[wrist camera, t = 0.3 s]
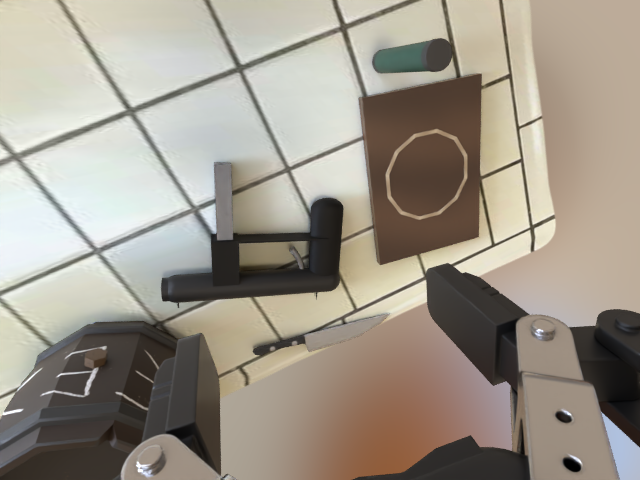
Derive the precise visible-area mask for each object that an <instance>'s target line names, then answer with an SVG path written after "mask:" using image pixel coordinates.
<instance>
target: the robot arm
mask: <svg viewBox="0 0 640 480" xmlns="http://www.w3.org/2000/svg"><path fill="white" fill-rule="evenodd" d="M426 282H427V305H428V309H429V313H430V315H431V317H432V319H433V320H434V321H435V322H436V324H437V325H438V326H439V327H440V328H441V329H442V330H443V331H444V332H445V333H446V335H447V336H448V337H449V338H450V339H451V340H452V341H453V342H454V343H455V344H456V345H457V347H458V348H459V349H460V350H461V351H462V352H463V353H464V354H465V355H466V357H467V358H468V359H469V360H470V361H471V362H472V363H473V364H474V365H475V367H476V368H477V369H478V370H479V371H480V372H481V373H482V374H483V375H484V376H485V377H486V379H487V380H488V381H489V382H490V383H491V384H492V385H493V386H494V385H497V384H499V383H502V382H505V381H507V382H508V383H509V384H510V385H511V390H510V400H511V425H512V451H510V450H506V449H500V448H494V447H479V446H478V445H477V443H476V442H475V440H474V439H473V438H472V437H471V436H468V437H465V438H462V439H460V440H457V441H454V442H452V443H449V444H446V445H444V446H441V447H438V448H436V449H434V450H433V451H432V452H430V453H429V454H428V455H427V456H425V457H424V458H423V459H421V460H420V461H418V462H417V463H416V464H414V465H413V466H412V467H410V468H409V469H408V470H406V471H405V472H402V473H397V474H386V475H376V476H366V477H358V478H355V479H353V480H620V478H619V475H618V471H617V467H616V464H615V460H614V457H613V453H612V449H611V446H610V442H609V439H608V435H607V431H606V428H605V424H604V421H603V417H602V414H601V412H602V413H603V414H605V416H607V417H608V418H609V419H610V420H611V421H612V422H613V423H614V424H615V425H616V426H617V427H618V428H619V429H621V430H622V431H623V432H624V433H625V434H626V435H627V436H628V437H629V438H630V439H631V440H632V441H633V442H634V443H636V444H637V445H638V446H639V447H640V314H639V313H636V312H632V311H628V310H620V309H614V310H606V311H603V312H602V313H600V314H599V315H598V317H597V322H596V326H584V327H568V326H567V325H565V324H564V323H563V322H561V321H560V320H558V319H555V318H552V317H549V316H545V315H529V314H528V313H526V312H525V311H524V310H523V309H521V308H520V307H519V306H517V305H516V304H515V303H513V302H512V301H511V300H509V299H508V298H507V297H505V296H504V295H503V294H500V293H499V291H497V290H496V289H494V288H493V287H491V286H490V285H489V284H488V283H486V282H485V281H484V280H483V279H481V278H480V277H477V276H474V275H472V274H469V273H466V272H465V273H461V272H460V271H458V270H457V269H456V268H455V267H453V266H452V265H451V264H449V263H446V264H443V265H439V266H436V267H432V268H429V269H428V270H427V272H426ZM150 398H151V401H150V402H149V407H148V412H147V417H146V422H145V427H144V432H143V437H142V442H141V444H140V445H139V446H137V447H136V448H135V449H134V450H133V451H132V452H131V454H130V455H129V456H128V458H127V459H126V461H125V463H124V465H123V467H122V471H121V474H119V475H118V476H117V477H116V478H114V479H113V480H237V479H236V478H234V477H233V476H231V475H229V474H226V475H225V476H224V477H221V451H220V450H221V449H220V388H219V379H218V374H217V370H216V367H215V364H214V362H213V359H212V356H211V354H210V351H209V348H208V345H207V343H206V340H205V337H204V335H203V334H202V333H199V334H195V335H192V336H188V337H185V338H181V339H178V342H177V348H176V355H175V357H172V358H169V359H165V360H164V361H163V363H162V364H161V366H160V367H159V369H158V370H157V372H156V373H155V377H154V382H153V389H152V392H151V397H150Z"/></svg>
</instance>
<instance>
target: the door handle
mask: <svg viewBox="0 0 640 480" xmlns="http://www.w3.org/2000/svg"><path fill="white" fill-rule="evenodd" d="M214 173H215V198H216V224H217V234H211V250H212V272H213V273H205V274H187V275H174V276H171V277H169V278H162V283H161V294H162V300H163V301H170V302H174V303H178V308H179V302H192V301H206V300H219V299H233V298H246V297H260V296H273V295H287V294H300V293H314V292H316V299H317V292H327V291H332V290H334V289H336V288H337V286H338V285H339V282H340V276H339V261H340V248H341V234H342V221H343V205H342V203H341V202H340V201H338V200H336V199H333V198H322V199H319V200H317V201H315V202H314V203H313V204H312V206H311V223H310V233H278V234H246V235H238V234H233V215H232V174H231V163H214ZM291 241H310V245H309V267H308V268H304V265H303V261H302V259H301V257H300V255H299V253H298V252H297V250H296V249H295V248H294V247H291V248H290V249H289V251H290V252H291V253H292V254H293V256H294V257H295V259H296V260H297V262H298V265H299V268H294V269H276V270H258V271H240V272H239V243H264V242H291Z"/></svg>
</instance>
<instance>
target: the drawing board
mask: <svg viewBox="0 0 640 480" xmlns="http://www.w3.org/2000/svg"><path fill="white" fill-rule="evenodd" d="M481 78H482V74H473V75H468V76H463V77H458V78H453V79H448V80H443V81H438V82H434V83H429V84H424V85H419V86H414V87H409V88H404V89H399V90H394V91H390V92H385V93H380V94H375V95H370V96H365V97H360V98H359V105H360V114H361V123H362V131H363V140H364V149H365V158H366V166H367V175H368V184H369V193H370V201H371V210H372V219H373V228H374V236H375V245H376V254H377V262H378V263H379V264H380V265H382V264H386V263H389V262H393V261H396V260H400V259H403V258H407V257H411V256H414V255H418V254H421V253H425V252H428V251H432V250H435V249H439V248H442V247H446V246H449V245H453V244H456V243H460V242H463V241H467V240H470V239H474V238H477V237H479V187H480V133H481Z"/></svg>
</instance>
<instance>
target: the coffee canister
mask: <svg viewBox="0 0 640 480" xmlns="http://www.w3.org/2000/svg"><path fill="white" fill-rule="evenodd" d="M177 342H178V339H176V338H174V337H173V336H171V335H169V334H167V333H165V332H163V331H161V330H159V329H157V328H156V327H154V326H152V325H150V324H148V323H146V322H144V321H129V322H95V323H94V324H88V325H86V326H85V327H83V328H81V329H80V330H78V331H76V332H75V333H73V334H71V335H70V336H68V337H66V338H65V339H63V340H61V341H60V342H58V343H56V344H55V345H53V346H51V347H50V348H48V349H46V350H45V351H43V352H42V353H41V354H39V355H38V357H37V360H36V364H35V367H34V369H33V370H32V372H31V373H30V374H29V375H28V376H27V378H26V379H25V380H24V381H23V382H22V384H21V386H20V387H19V389H18V390H17V392H16V393H15V395H14V396H13V398H12V400H11V401H10V403H9V404H8V406H7V407H6V409H5V411H4V413H3V415H2V417H1V420H0V480H113V479H114V478H116V477H117V476H118V475H119V474H121V471H122V467H123V465H124V463H125V461H126V459H127V458H128V456H129V455H130V454H131V452H132V451H133V450H134V449H135V448H136V447H137V446H139V445H140V444H141V442H142V437H143V432H144V427H145V422H146V417H147V412H148V407H149V402H150V401H151V398H150V397H151V392H152V389H153V382H154V377H155V373H156V372H157V370H158V369H159V367H160V366H161V364H162V363H163V361H164V360H165V359H169V358H172V357H175V355H176V348H177Z"/></svg>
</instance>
